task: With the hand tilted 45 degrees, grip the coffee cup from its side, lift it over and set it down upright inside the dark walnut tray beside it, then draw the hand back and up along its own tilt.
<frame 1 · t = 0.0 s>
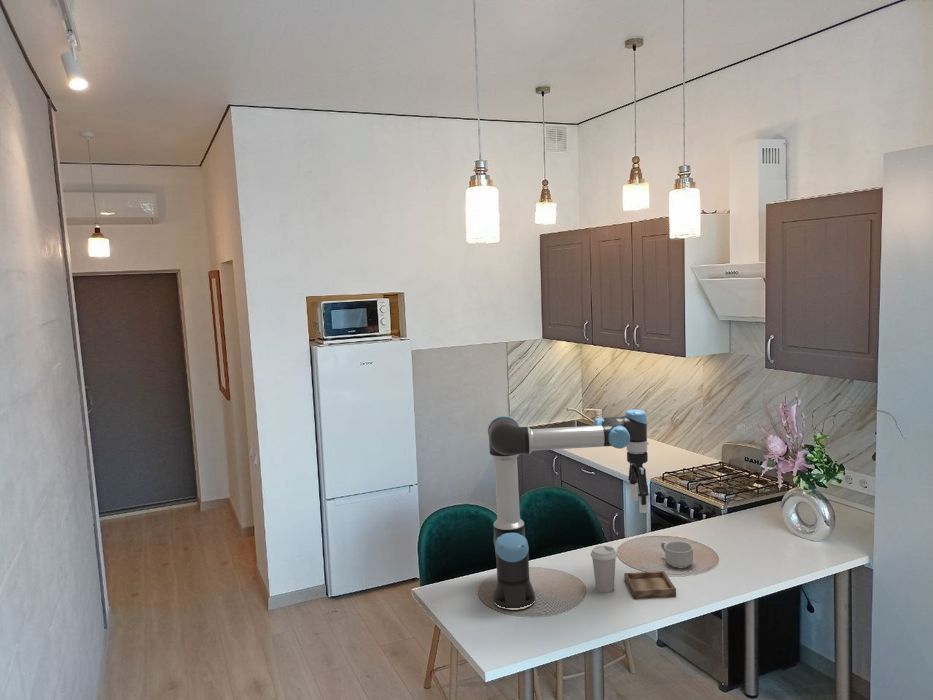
hand: (638, 506, 261), 28 cm above the counter, tool pointing down, fingers open, 13 cm apart
walnut tray: (649, 588, 255), on the counter
teacup: (676, 564, 274), on the counter
coffee cup: (605, 589, 257), on the counter
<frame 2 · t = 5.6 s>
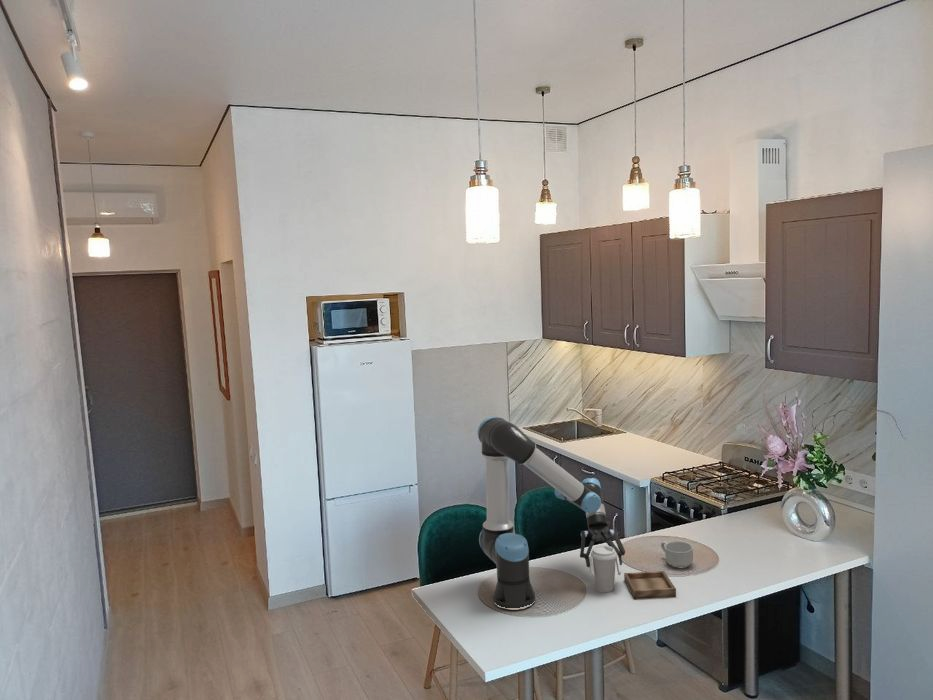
hand: (606, 574, 253), 7 cm above the counter, tool tilted 45°, fingers closed on coffee cup, 9 cm apart
coffee cup: (605, 588, 257), on the counter, touching gripper
everything else where it was.
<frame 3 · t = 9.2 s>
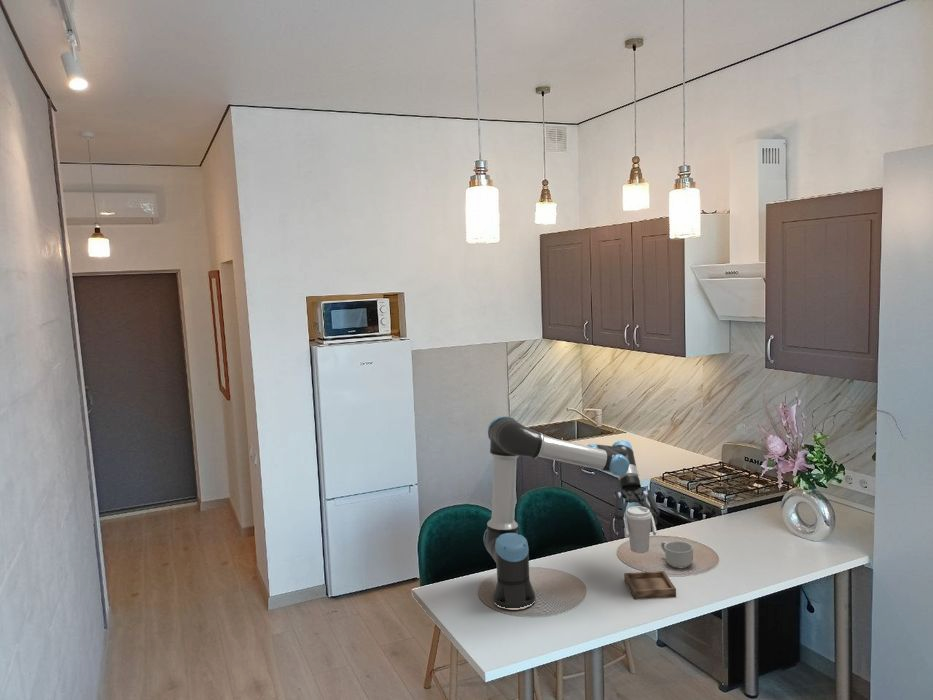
hand: (641, 534, 250), 22 cm above the counter, tool tilted 45°, fingers closed on coffee cup, 9 cm apart
coffee cup: (639, 550, 254), point 14 cm above the counter, touching gripper
everything else where it was.
when the fingers open (8 cm above the counter, at t = 13.1 s): coffee cup stays where it is, resting on walnut tray.
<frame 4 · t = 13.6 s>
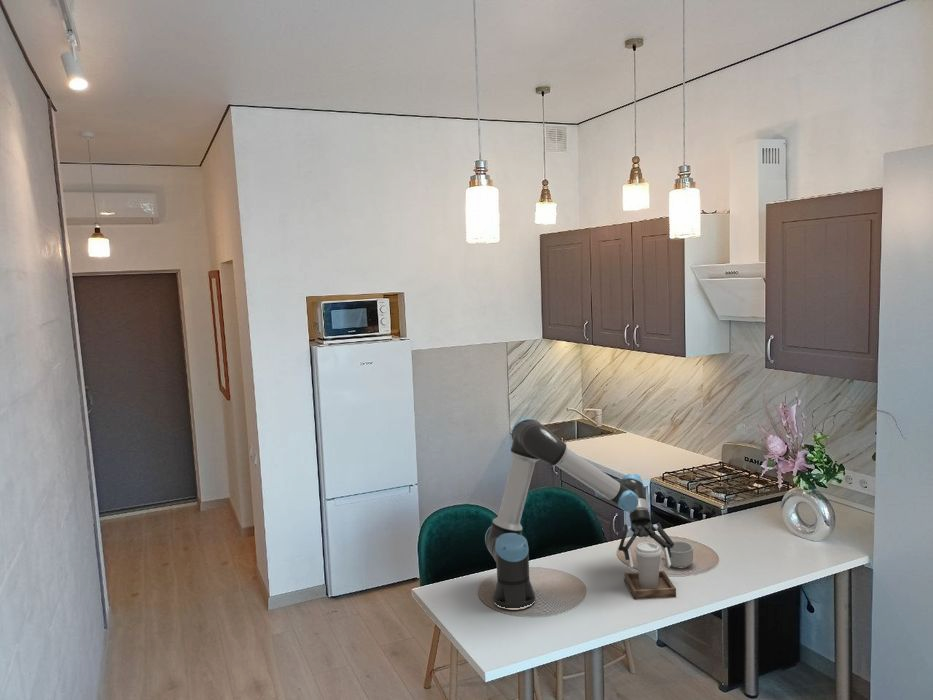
hand: (650, 567, 251), 9 cm above the counter, tool tilted 45°, fingers open, 13 cm apart
coffee cup: (648, 586, 255), point 1 cm above the counter, touching walnut tray
everything else where it was.
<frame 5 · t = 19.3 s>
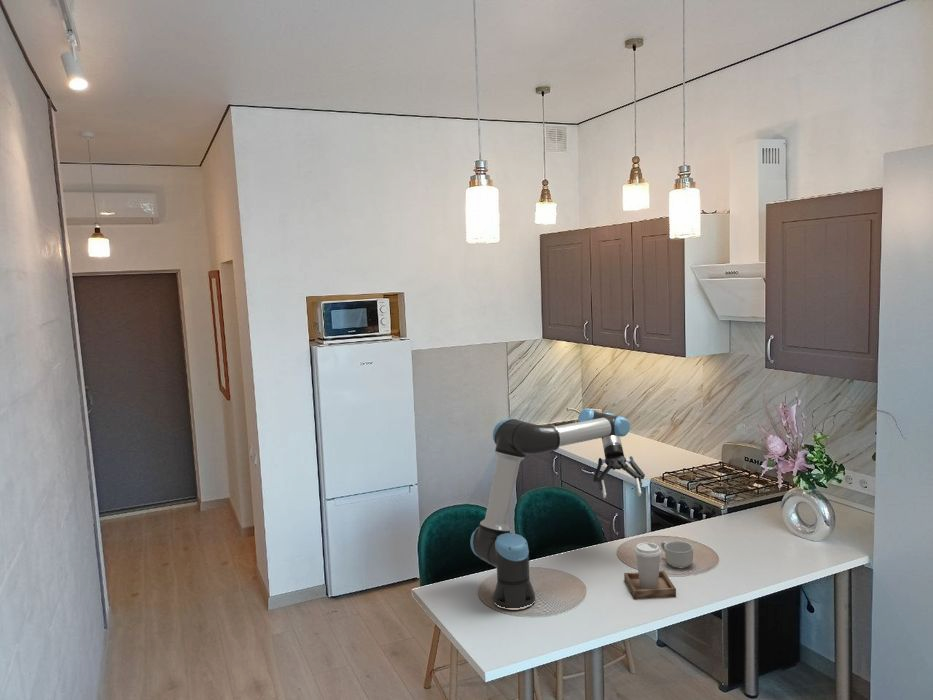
hand: (622, 495, 269), 30 cm above the counter, tool tilted 45°, fingers open, 13 cm apart
nothing on the counter moved.
at the end: coffee cup inside the target area on the walnut tray (0.2 cm from its centre), point 0.8 cm above the walnut tray's base; coffee cup tilted 0°; the gripper is holding nothing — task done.
